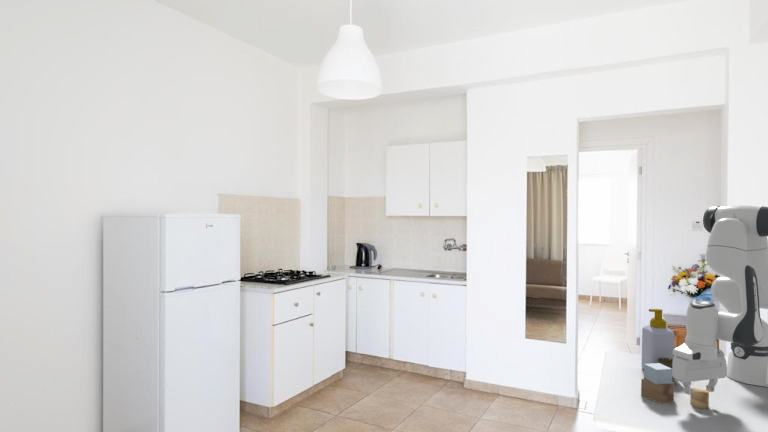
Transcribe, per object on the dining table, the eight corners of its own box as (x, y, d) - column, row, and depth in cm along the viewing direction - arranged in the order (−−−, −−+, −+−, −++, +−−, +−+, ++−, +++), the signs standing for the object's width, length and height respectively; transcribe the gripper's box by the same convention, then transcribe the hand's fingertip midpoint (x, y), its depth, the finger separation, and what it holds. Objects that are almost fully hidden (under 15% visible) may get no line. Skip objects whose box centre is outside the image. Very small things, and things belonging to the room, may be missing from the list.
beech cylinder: (697, 401, 157) (698, 387, 157) (712, 408, 152) (712, 392, 152) (686, 403, 155) (687, 388, 155) (700, 409, 150) (701, 394, 150)
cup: (684, 385, 171) (684, 364, 171) (662, 383, 173) (662, 362, 173) (675, 378, 179) (676, 357, 178) (654, 376, 180) (655, 356, 180)
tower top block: (658, 377, 163) (659, 363, 163) (672, 383, 157) (672, 368, 157) (643, 378, 162) (643, 363, 162) (656, 384, 156) (657, 369, 156)
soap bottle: (639, 367, 190) (641, 306, 190) (662, 368, 190) (663, 307, 189) (651, 375, 181) (653, 311, 181) (675, 376, 181) (676, 312, 180)
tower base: (653, 392, 164) (654, 375, 164) (673, 399, 158) (674, 382, 158) (641, 395, 161) (641, 378, 161) (660, 403, 155) (661, 385, 155)
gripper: (714, 346, 159) (713, 386, 159) (668, 350, 153) (667, 391, 153) (733, 351, 153) (732, 393, 153) (686, 355, 147) (685, 399, 147)
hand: (699, 392), depth 153 cm, fingers open, 8 cm apart
